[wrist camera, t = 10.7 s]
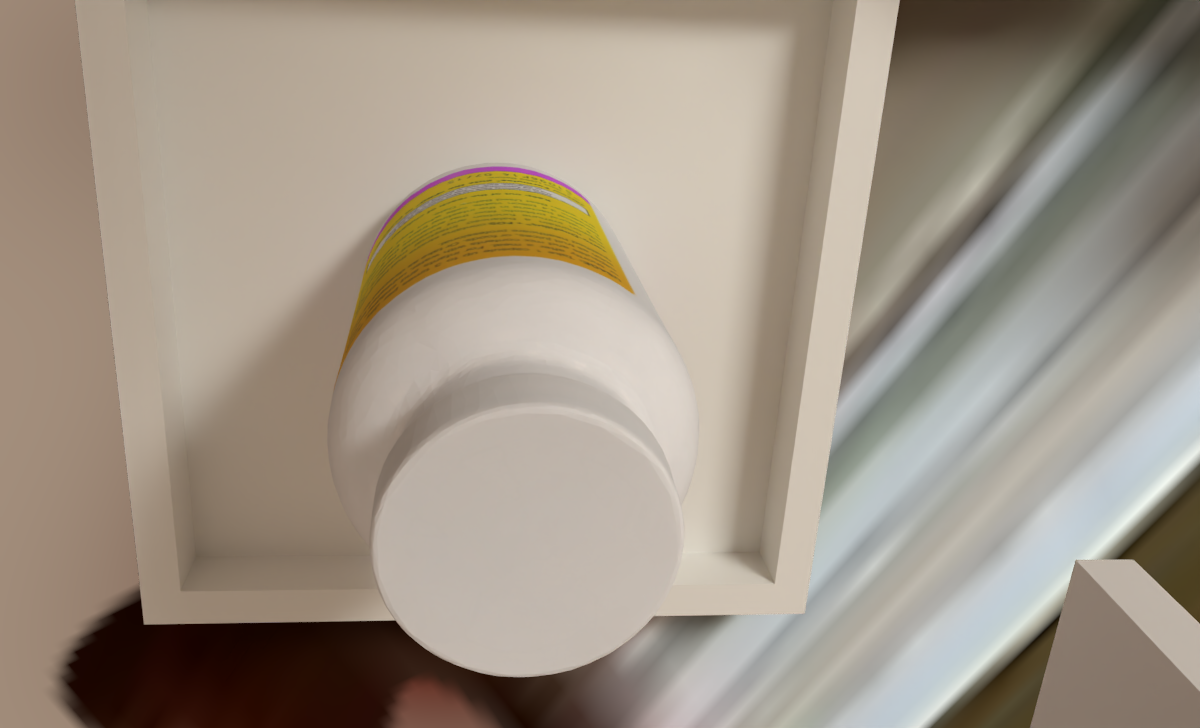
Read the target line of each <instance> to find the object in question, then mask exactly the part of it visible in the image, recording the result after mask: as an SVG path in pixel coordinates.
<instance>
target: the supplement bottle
mask: <svg viewBox="0 0 1200 728" xmlns="http://www.w3.org/2000/svg"><path fill="white" fill-rule="evenodd" d="M327 443H328V455H329V462H330V468H331V473H332V477H333V482H334V485H335V488H336V490H337V493H338V496H339V498H340V501H341V503H342V505H343V507H344V510H345V512H346V514H347V516H348V518H349V519H350V521H351V522H352V524H353V526H354V527H355V529H356V531H357V532H358V533H359V535H360V536H361V537H362V539H363V540H364V541H365V542H366V544H367V545H368V546H369V548H370V562H371V567H372V571H373V575H374V579H375V582H376V585H377V588H378V591H379V594H380V596H381V598H382V600H383V602H384V604H385V606H386V607H387V609H388V611H389V612H390V614H391V615H392V617H393V618H394V619H395V620H396V622H397V623H398V624H399V625H400V627H401V628H402V629H403V630H404V631H405V632H406V633H407V634H408V635H409V636H410V637H411V638H413V639H414V640H415V641H416V642H417V643H419V644H420V645H421V646H422V647H424V648H425V649H426V650H428V651H430V652H431V653H433V654H434V655H436V656H438V657H440V658H442V659H443V660H446V661H448V662H451V663H453V664H455V665H457V666H460V667H463V668H466V669H469V670H472V671H476V672H479V673H484V674H489V675H494V676H505V677H532V676H542V675H550V674H556V673H560V672H564V671H568V670H572V669H575V668H578V667H581V666H583V665H586V664H589V663H591V662H593V661H595V660H597V659H599V658H601V657H603V656H605V655H608V654H609V653H611V652H612V651H614V650H615V649H617V648H618V647H620V646H621V645H623V644H624V643H625V642H627V641H628V640H630V639H631V638H632V637H633V636H635V635H636V634H637V633H638V632H639V631H640V630H641V629H642V628H643V627H644V626H645V625H646V624H647V623H648V622H649V621H650V620H651V618H652V617H653V616H654V615H655V614H656V612H657V611H658V609H659V608H660V606H661V605H662V604H663V602H664V601H665V599H666V597H667V595H668V593H669V591H670V590H671V588H672V586H673V584H674V582H675V579H676V576H677V572H678V569H679V566H680V563H681V558H682V553H683V547H684V520H683V513H682V507H681V505H682V503H683V501H684V499H685V497H686V495H687V492H688V490H689V487H690V484H691V481H692V477H693V473H694V469H695V465H696V460H697V455H698V443H699V412H698V407H697V401H696V396H695V392H694V388H693V384H692V381H691V378H690V375H689V373H688V370H687V367H686V365H685V363H684V361H683V359H682V356H681V354H680V353H679V351H678V349H677V347H676V345H675V343H674V341H673V340H672V338H671V336H670V334H669V333H668V331H667V329H666V328H665V326H664V324H663V322H662V320H661V319H660V317H659V315H658V313H657V311H656V309H655V307H654V306H653V304H652V302H651V300H650V298H649V296H648V294H647V293H646V291H645V289H644V287H643V285H642V283H641V281H640V279H639V278H638V276H637V274H636V272H635V270H634V268H633V266H632V265H631V263H630V261H629V259H628V257H627V255H626V253H625V251H624V249H623V247H622V246H621V244H620V242H619V240H618V239H617V237H616V235H615V233H614V231H613V230H612V228H611V226H610V225H609V223H608V222H607V220H606V219H605V217H604V216H603V215H602V213H601V212H600V211H599V210H598V208H597V207H596V206H595V205H594V204H593V203H592V202H591V201H590V200H589V199H588V198H587V197H586V196H585V195H584V194H582V193H581V192H580V191H579V190H577V189H576V188H574V187H573V186H571V185H570V184H569V183H567V182H565V181H564V180H562V179H560V178H558V177H556V176H554V175H552V174H550V173H547V172H545V171H542V170H539V169H536V168H533V167H529V166H525V165H519V164H512V163H482V164H476V165H469V166H464V167H460V168H457V169H454V170H450V171H448V172H445V173H442V174H440V175H438V176H436V177H434V178H432V179H430V180H429V181H427V182H426V183H424V184H423V185H421V186H420V187H418V188H417V189H415V190H414V191H413V192H411V193H410V194H409V195H408V196H407V197H406V198H405V199H404V200H402V201H401V202H400V203H399V204H398V206H397V207H396V208H395V209H394V210H393V211H392V213H391V214H390V215H389V216H388V218H387V219H386V221H385V222H384V224H383V225H382V227H381V229H380V230H379V232H378V234H377V236H376V238H375V240H374V242H373V245H372V248H371V251H370V254H369V256H368V260H367V263H366V266H365V270H364V274H363V279H362V283H361V287H360V291H359V295H358V299H357V303H356V307H355V311H354V315H353V319H352V323H351V327H350V330H349V334H348V338H347V342H346V346H345V350H344V353H343V357H342V361H341V364H340V368H339V371H338V375H337V379H336V382H335V386H334V391H333V396H332V401H331V407H330V412H329V419H328V437H327Z"/></svg>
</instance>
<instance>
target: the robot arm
mask: <svg viewBox="0 0 1200 728" xmlns="http://www.w3.org/2000/svg"><path fill="white" fill-rule="evenodd" d="M1030 728H1200V624H1199V623H1198V622H1197V621H1196V620H1195V619H1194V618H1193V617H1192V616H1191V615H1190V614H1189V613H1188V612H1187V611H1186V610H1185V609H1184V608H1183V607H1182V606H1181V605H1180V604H1179V603H1178V602H1177V601H1175V600H1174V599H1173V598H1172V597H1171V596H1170V595H1169V594H1168V593H1167V592H1166V591H1165V590H1164V589H1163V588H1162V587H1161V586H1160V585H1159V584H1158V583H1157V582H1156V581H1155V580H1154V579H1153V578H1152V577H1151V576H1150V575H1149V574H1148V573H1147V572H1146V571H1144V570H1143V569H1142V568H1141V567H1140V566H1139V565H1138V564H1137V563H1136V562H1135V561H1134V560H1076V561H1075V565H1074V568H1073V572H1072V576H1071V580H1070V583H1069V587H1068V591H1067V594H1066V598H1065V602H1064V605H1063V609H1062V613H1061V616H1060V620H1059V624H1058V627H1057V631H1056V635H1055V638H1054V642H1053V646H1052V649H1051V653H1050V657H1049V660H1048V664H1047V668H1046V671H1045V675H1044V679H1043V682H1042V686H1041V690H1040V693H1039V697H1038V701H1037V704H1036V708H1035V712H1034V716H1033V719H1032V723H1031V727H1030Z"/></svg>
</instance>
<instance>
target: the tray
mask: <svg viewBox="0 0 1200 728" xmlns="http://www.w3.org/2000/svg"><path fill="white" fill-rule="evenodd" d="M899 2H900V0H75V8H76V16H77V25H78V35H79V44H80V52H81V62H82V71H83V80H84V89H85V98H86V107H87V116H88V124H89V133H90V142H91V152H92V161H93V170H94V178H95V187H96V197H97V206H98V215H99V224H100V232H101V242H102V251H103V260H104V268H105V278H106V287H107V295H108V305H109V314H110V323H111V332H112V340H113V350H114V359H115V368H116V376H117V386H118V394H119V403H120V413H121V421H122V431H123V439H124V449H125V457H126V466H127V474H128V475H127V476H128V485H129V494H130V503H131V512H132V521H133V530H134V539H135V548H136V557H137V566H138V575H139V584H140V593H141V602H142V611H143V620H144V625H145V624H206V623H266V622H327V621H388V620H395V619H394V618H393V617H392V615H391V614H390V612H389V611H388V609H387V607H386V606H385V604H384V602H383V600H382V598H381V596H380V594H379V591H378V588H377V585H376V582H375V579H374V575H373V571H372V567H371V562H370V548H369V546H368V545H367V544H366V542H365V541H364V540H363V539H362V537H361V536H360V535H359V533H358V532H357V531H356V529H355V527H354V526H353V524H352V522H351V521H350V519H349V518H348V516H347V514H346V512H345V510H344V507H343V505H342V503H341V501H340V498H339V496H338V493H337V490H336V488H335V485H334V482H333V477H332V473H331V468H330V462H329V455H328V443H327V437H328V419H329V412H330V407H331V401H332V396H333V391H334V386H335V382H336V379H337V375H338V371H339V368H340V364H341V361H342V357H343V353H344V350H345V346H346V342H347V338H348V334H349V330H350V327H351V323H352V319H353V315H354V311H355V307H356V303H357V299H358V295H359V291H360V287H361V283H362V279H363V274H364V270H365V266H366V263H367V260H368V256H369V254H370V251H371V248H372V245H373V242H374V240H375V238H376V236H377V234H378V232H379V230H380V229H381V227H382V225H383V224H384V222H385V221H386V219H387V218H388V216H389V215H390V214H391V213H392V211H393V210H394V209H395V208H396V207H397V206H398V204H399V203H400V202H401V201H402V200H404V199H405V198H406V197H407V196H408V195H409V194H410V193H411V192H413V191H414V190H415V189H417V188H418V187H420V186H421V185H423V184H424V183H426V182H427V181H429V180H430V179H432V178H434V177H436V176H438V175H440V174H442V173H445V172H448V171H450V170H454V169H457V168H460V167H464V166H469V165H476V164H482V163H512V164H519V165H525V166H529V167H533V168H536V169H539V170H542V171H545V172H547V173H550V174H552V175H554V176H556V177H558V178H560V179H562V180H564V181H565V182H567V183H569V184H570V185H571V186H573V187H574V188H576V189H577V190H579V191H580V192H581V193H582V194H584V195H585V196H586V197H587V198H588V199H589V200H590V201H591V202H592V203H593V204H594V205H595V206H596V207H597V208H598V210H599V211H600V212H601V213H602V215H603V216H604V217H605V219H606V220H607V222H608V223H609V225H610V226H611V228H612V230H613V231H614V233H615V235H616V237H617V239H618V240H619V242H620V244H621V246H622V247H623V249H624V251H625V253H626V255H627V257H628V259H629V261H630V263H631V265H632V266H633V268H634V270H635V272H636V274H637V276H638V278H639V279H640V281H641V283H642V285H643V287H644V289H645V291H646V293H647V294H648V296H649V298H650V300H651V302H652V304H653V306H654V307H655V309H656V311H657V313H658V315H659V317H660V319H661V320H662V322H663V324H664V326H665V328H666V329H667V331H668V333H669V334H670V336H671V338H672V340H673V341H674V343H675V345H676V347H677V349H678V351H679V353H680V354H681V356H682V359H683V361H684V363H685V365H686V367H687V370H688V373H689V375H690V378H691V381H692V384H693V388H694V392H695V396H696V401H697V407H698V412H699V443H698V455H697V460H696V465H695V469H694V473H693V477H692V481H691V484H690V487H689V490H688V492H687V495H686V497H685V499H684V501H683V503H682V505H681V507H682V513H683V520H684V547H683V553H682V558H681V563H680V566H679V569H678V572H677V576H676V579H675V582H674V584H673V586H672V588H671V590H670V591H669V593H668V595H667V597H666V599H665V601H664V602H663V604H662V605H661V606H660V608H659V609H658V611H657V612H656V614H655V615H654V616H693V615H754V614H805V607H806V601H807V595H808V588H809V582H810V575H811V569H812V562H813V556H814V549H815V543H816V537H817V530H818V524H819V517H820V511H821V504H822V498H823V491H824V485H825V479H826V472H827V466H828V459H829V453H830V446H831V440H832V433H833V427H834V421H835V414H836V408H837V401H838V395H839V388H840V382H841V376H842V369H843V363H844V356H845V350H846V343H847V337H848V330H849V324H850V318H851V311H852V305H853V298H854V292H855V285H856V279H857V272H858V266H859V260H860V253H861V247H862V240H863V234H864V227H865V221H866V214H867V208H868V202H869V195H870V189H871V182H872V176H873V169H874V163H875V156H876V150H877V144H878V137H879V131H880V124H881V118H882V111H883V105H884V99H885V92H886V86H887V79H888V73H889V66H890V60H891V53H892V47H893V41H894V34H895V28H896V21H897V15H898V8H899Z"/></svg>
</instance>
